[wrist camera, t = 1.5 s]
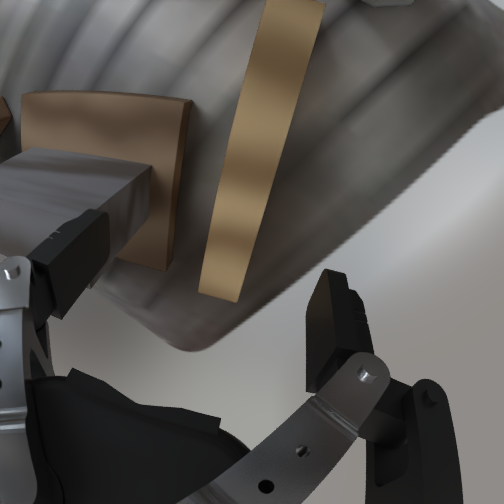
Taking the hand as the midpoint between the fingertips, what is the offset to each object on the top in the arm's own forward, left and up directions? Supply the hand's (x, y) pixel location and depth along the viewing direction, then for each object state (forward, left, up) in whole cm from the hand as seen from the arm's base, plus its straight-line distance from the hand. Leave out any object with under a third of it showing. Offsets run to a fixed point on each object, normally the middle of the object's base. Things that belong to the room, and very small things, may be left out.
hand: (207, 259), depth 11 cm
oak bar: (0, 0, -16) cm, 16 cm away
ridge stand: (+5, -15, -16) cm, 22 cm away
